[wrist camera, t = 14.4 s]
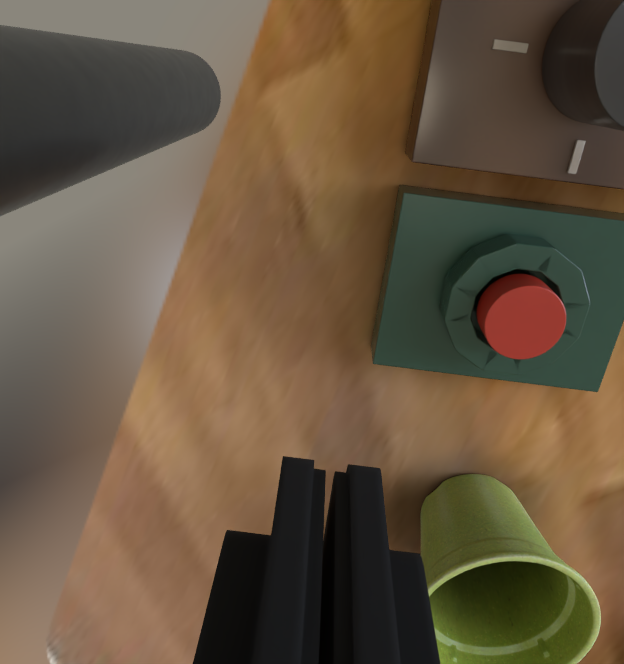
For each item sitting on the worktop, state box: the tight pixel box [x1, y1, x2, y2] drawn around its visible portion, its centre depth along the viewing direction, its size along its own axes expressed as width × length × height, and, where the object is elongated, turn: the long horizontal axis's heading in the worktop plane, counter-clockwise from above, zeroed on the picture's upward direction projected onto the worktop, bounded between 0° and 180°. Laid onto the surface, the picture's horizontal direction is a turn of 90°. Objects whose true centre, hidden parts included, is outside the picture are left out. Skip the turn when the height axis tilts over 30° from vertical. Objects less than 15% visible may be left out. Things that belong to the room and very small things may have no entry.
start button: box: [476, 274, 566, 359], centre depth 27 cm, size 4×4×2 cm
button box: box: [371, 185, 624, 392], centre depth 29 cm, size 12×9×4 cm
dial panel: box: [405, 0, 624, 189], centre depth 25 cm, size 14×10×3 cm
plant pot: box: [420, 474, 601, 664], centre depth 33 cm, size 9×9×9 cm
